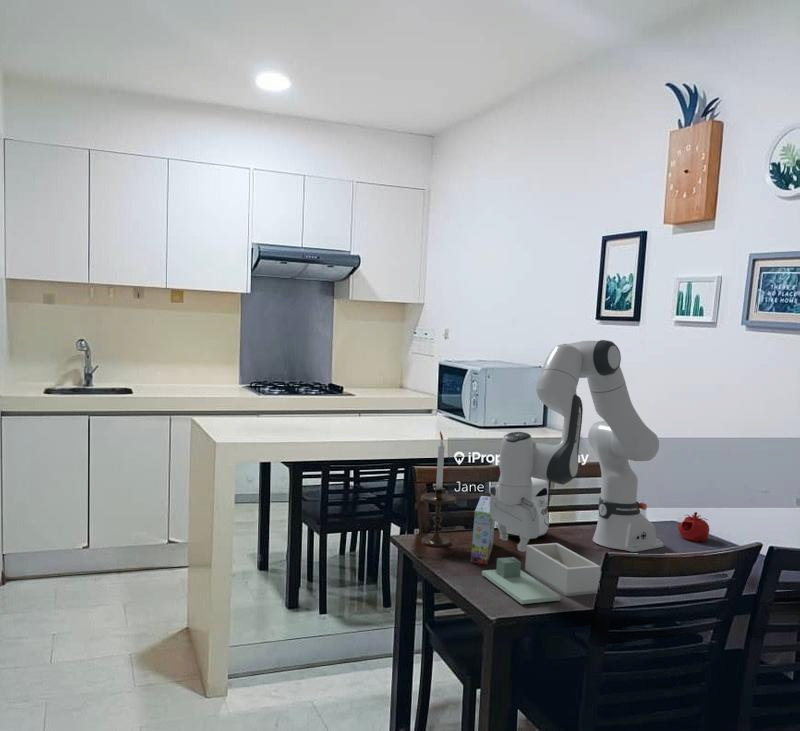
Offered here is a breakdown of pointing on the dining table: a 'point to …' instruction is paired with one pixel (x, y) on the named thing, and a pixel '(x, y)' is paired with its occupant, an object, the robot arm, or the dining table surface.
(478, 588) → the dining table surface
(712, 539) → the dining table surface
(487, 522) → the snack box
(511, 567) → the lid
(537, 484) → the spotted dog treat jar
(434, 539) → the candlestick
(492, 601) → the dining table surface
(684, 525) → the pomegranate
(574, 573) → the tub
